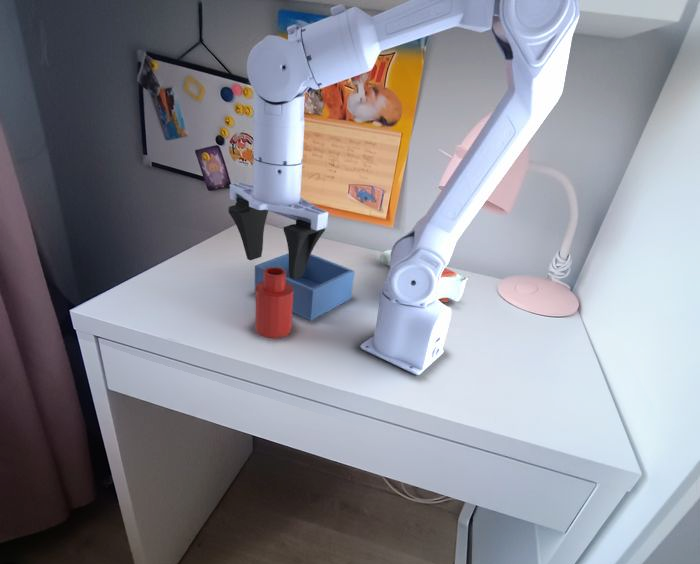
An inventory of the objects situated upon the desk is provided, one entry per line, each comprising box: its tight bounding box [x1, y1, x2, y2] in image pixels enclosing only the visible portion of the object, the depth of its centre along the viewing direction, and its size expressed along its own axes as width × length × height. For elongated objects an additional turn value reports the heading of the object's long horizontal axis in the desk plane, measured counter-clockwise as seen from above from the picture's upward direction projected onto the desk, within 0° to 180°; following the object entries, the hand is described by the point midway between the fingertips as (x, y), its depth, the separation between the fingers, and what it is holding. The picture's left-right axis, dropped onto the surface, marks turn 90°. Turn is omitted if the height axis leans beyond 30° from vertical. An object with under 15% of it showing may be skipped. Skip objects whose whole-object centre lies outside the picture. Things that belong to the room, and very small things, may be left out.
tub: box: [254, 252, 355, 322], centre depth 76 cm, size 12×11×5 cm
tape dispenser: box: [379, 249, 469, 303], centre depth 84 cm, size 18×5×20 cm
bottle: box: [254, 267, 293, 339], centre depth 65 cm, size 5×5×9 cm
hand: (274, 266), depth 63 cm, fingers open, 7 cm apart
